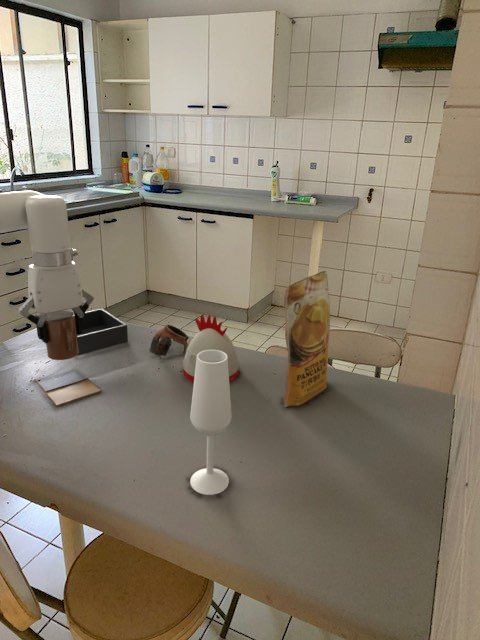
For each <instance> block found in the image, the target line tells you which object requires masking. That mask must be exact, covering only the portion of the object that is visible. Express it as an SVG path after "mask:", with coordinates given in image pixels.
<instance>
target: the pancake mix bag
mask: <svg viewBox="0 0 480 640" xmlns="http://www.w3.org/2000/svg"><path fill="white" fill-rule="evenodd" d="M330 303H331V302H330V293H329V281H328V273H326V270H322V271H319V272H317V273H315V274H313V275H310V276H307V277H304V278H302V279H300V280H297V281H296V282H293V283H292V284H290V285H289V286H288V287H287V288H286V289H285V292H284V299H283V308H284V309H283V310H284V317H285V318H284V319H285V326H284V338H285V345H286V349H287V367H286V376H285V377H286V378H285V387H284V393H283V399H282V402H283V406H284V408H287V407H299V406H302V405H304V404H305V403H307V402H309V401H310V400H312V399H313V398H315V397H316V396H317V395H319V394H321V393H323V392H324V391H326V389H327V388H328V379H327V378H328V377H327V375H328V374H327V373H328V372H327V371H328V361H329V345H330V333H331V332H330V330H331V305H330Z"/></svg>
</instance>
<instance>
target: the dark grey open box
mask: <svg viewBox="0 0 480 640" xmlns="http://www.w3.org/2000/svg"><path fill="white" fill-rule="evenodd" d="M82 323H83V329H81V330H82V335H78V334H77V337H78V347H79V353H78V355H77V356H80V355H85V354H87V353H88V354H89V353H92V352H95V351H99V350H102V349H105V348H109V347H110V348H111V347H114V346H117V345H120V344H126V343H128V342H129V335H128V334H129V333H128V325H127V323H125V322H124V321H122V320H120V319H119V318H117V317H116V316H114V315H113V314H112V313H110V312H108V311H107V310H106V309H103V308H98V309H94V310H89V311H88V310H87V311H86V312H85V313H84V316H83V317H82Z"/></svg>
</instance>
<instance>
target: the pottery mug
mask: <svg viewBox="0 0 480 640" xmlns="http://www.w3.org/2000/svg"><path fill="white" fill-rule="evenodd" d="M188 340H189V336H188V335H187V333H185V332H184V331H183V330H181V329H180V328H178V327H176V326H174V325H171V324H164V326H163V328H160V329H159V330H157V331H156V332H155V334H154V335H153V336H152V339H151V343H150V347H149V352H150V353H152V354H153V355H157V354H158V355H159V356H161V357H164V356H165V357H166V356H167V354H168V351H169V350H170V347H172V342H175V343H178V344H181V345H183V350H182V353H183V354H186V351H187V349H188Z"/></svg>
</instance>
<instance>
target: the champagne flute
mask: <svg viewBox="0 0 480 640" xmlns="http://www.w3.org/2000/svg"><path fill="white" fill-rule="evenodd" d="M192 387H193V388H192V397H191V404H190V405H191V407H190V414H189V416H190V417H189V419H190V422H191V424H192V426H193V427H194V428H195V430H196V431H197V432H199V433H201V434H202V435H204V436H206V467H205V468H201V469H199V470H197V471H195V472H193V474H192V475H191V477H190V482H189V483H190V486H191V488H192V489H193V490H194V491H195V492H197V493H199V494H201V495H206V496H214V495H217V494H221V493H222V492H224V491H225V490H227V488H228V486H229V483H230V479H229V476H228V475H227V473H226V472H225V471H223V470H221V469H219V468H216V467H214V462H215V461H214V458H215V456H214V455H215V436H217V435H219V434H222V433H223V432H224V431H225V430H226V429H227V428H228V426H229V425H230V424H231V422H232V417H233V416H232V403H231V389H230V382H229V372H228V357H227V354H226V353H224V352H222V351H219V350H205V351H202V352H200V353H198V354H197V359H196V368H195V377H194V382H193V386H192Z"/></svg>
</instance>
